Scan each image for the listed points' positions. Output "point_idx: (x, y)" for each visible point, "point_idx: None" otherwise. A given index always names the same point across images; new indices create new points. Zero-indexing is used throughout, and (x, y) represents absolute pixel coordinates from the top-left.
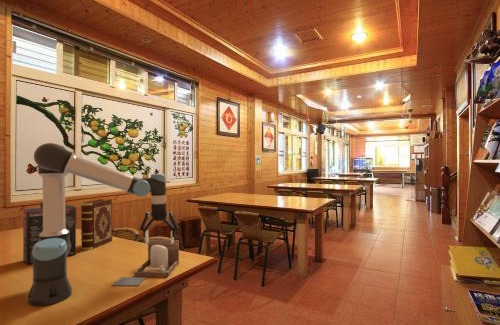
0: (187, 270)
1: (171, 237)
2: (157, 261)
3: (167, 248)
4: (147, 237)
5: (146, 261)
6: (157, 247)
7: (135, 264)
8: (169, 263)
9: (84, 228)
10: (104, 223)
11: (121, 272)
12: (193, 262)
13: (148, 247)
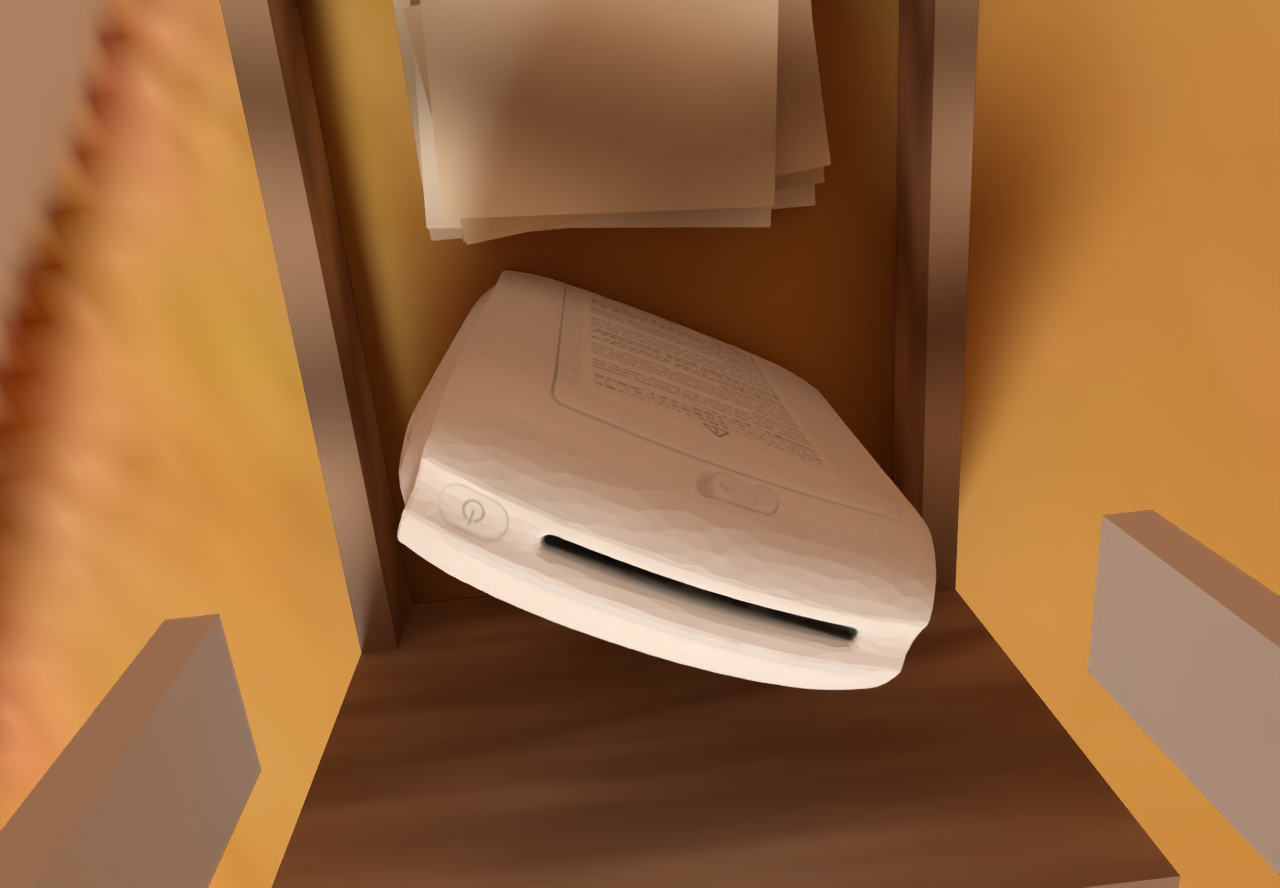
0: (50, 354)
1: (75, 772)
2: (644, 340)
3: (577, 781)
4: (1231, 711)
5: (949, 492)
6: (692, 487)
7: (1142, 509)
8: None
9: None
10: None
11: (1266, 105)
12: None
13: (1062, 741)
